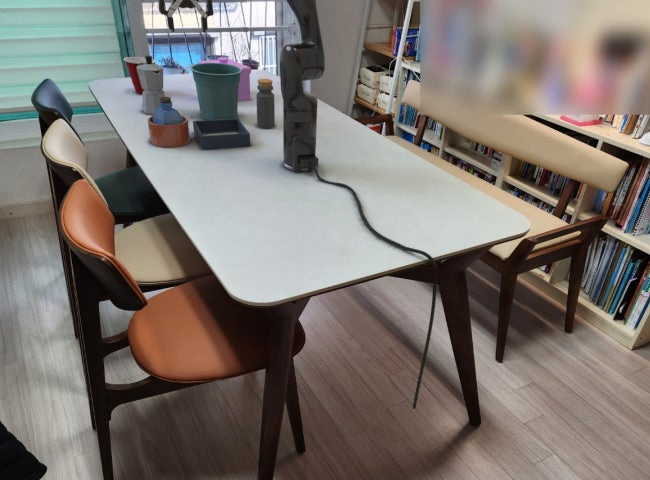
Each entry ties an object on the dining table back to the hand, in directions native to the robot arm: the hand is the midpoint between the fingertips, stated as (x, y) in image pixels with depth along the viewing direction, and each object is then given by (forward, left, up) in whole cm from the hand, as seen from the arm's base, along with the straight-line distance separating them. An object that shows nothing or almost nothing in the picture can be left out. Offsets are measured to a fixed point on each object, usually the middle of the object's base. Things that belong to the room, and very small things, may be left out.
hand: (188, 31), depth 149 cm
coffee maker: (+26, +10, -30) cm, 41 cm away
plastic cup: (+48, +11, -30) cm, 58 cm away
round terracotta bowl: (-4, +9, -30) cm, 32 cm away
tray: (-6, -6, -30) cm, 31 cm away
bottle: (+4, -23, -30) cm, 38 cm away
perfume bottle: (-4, +9, -30) cm, 31 cm away
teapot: (+39, -16, -30) cm, 52 cm away
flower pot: (+16, -10, -30) cm, 36 cm away
